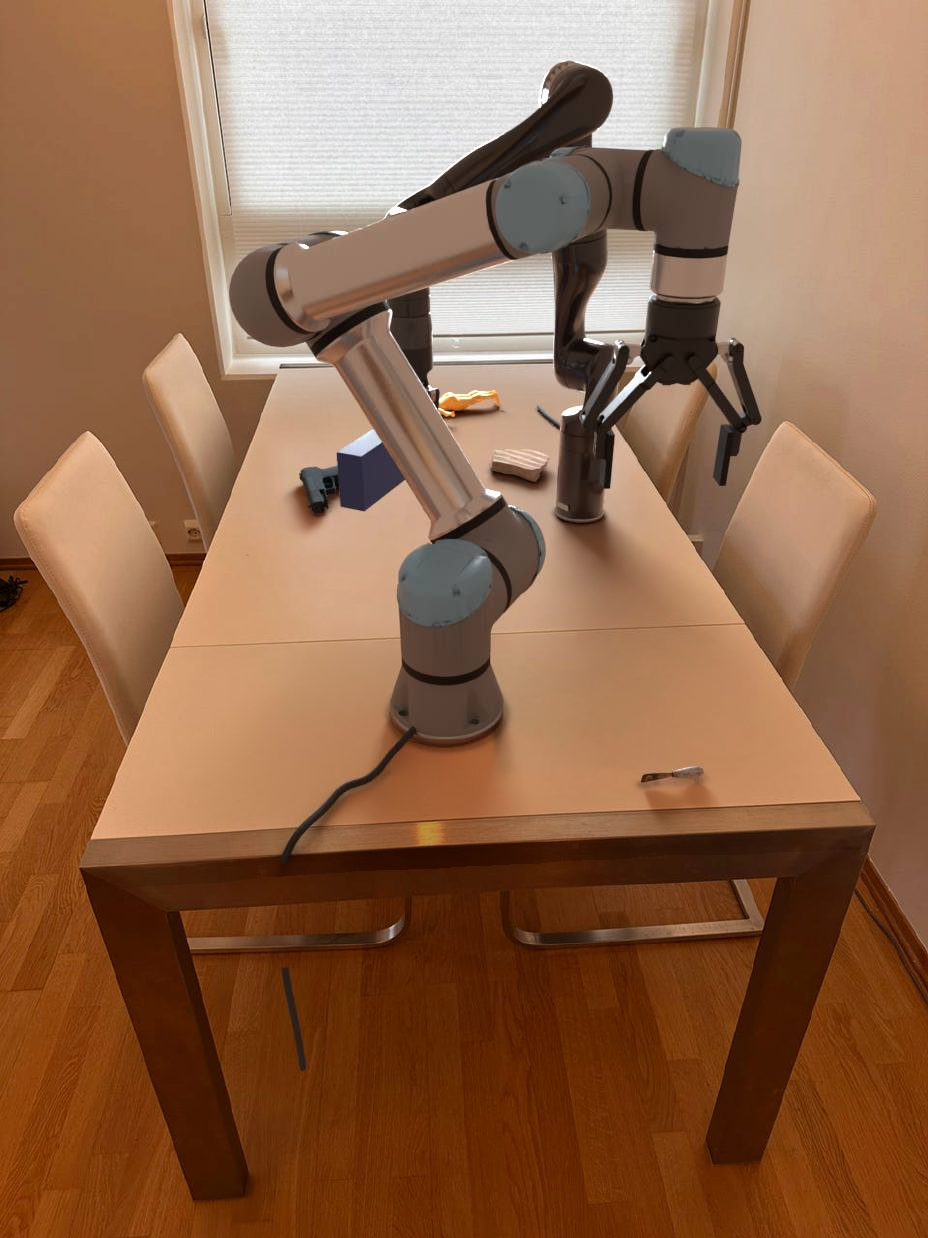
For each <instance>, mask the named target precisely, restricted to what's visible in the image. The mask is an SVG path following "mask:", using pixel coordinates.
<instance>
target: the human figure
mask: <svg viewBox="0 0 928 1238" xmlns="http://www.w3.org/2000/svg"><path fill="white" fill-rule="evenodd" d="M429 387H431V388H432V385H430V384H429ZM488 400H493V402H494V403H495V404H496V405H497V406H500V398H499V393H498V392H497V391H496V390H495V389H493V390H491V391H478V390H473V391H470V392H469V393H468V394H460V393H457V394H455V393H453V392H446V393H444V394H443V395H442V396H441V397H440V398H439V409H438V411H439V413H440V415H443V416H444V417H449V416H450V417H451V418H452V417H453V418H454V417H455V416H456V414H455V411H462V410H464V409H467V408H469V407H471V406H473V405H476V404H478V403H481V402H484V401H488ZM450 410H452V411H450Z"/></svg>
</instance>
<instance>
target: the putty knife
mask: <svg viewBox="0 0 928 1238" xmlns="http://www.w3.org/2000/svg"><path fill="white" fill-rule="evenodd" d="M704 772H705V771H704V768H702V767H701V766H697V765H695V766H688V767H683V768H679V769H675V770H673V771H671V772H653V773H652V772H651V773H650V772H649V773H644V774H642V776H641V779H640V783H642V784H645V783H648V782H653V781H659V780H665V779H668V778H673V779H674V778H675V779H693V778H694V779H695V778H700V777H702V776H703V775H704Z"/></svg>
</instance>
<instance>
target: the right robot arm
mask: <svg viewBox="0 0 928 1238" xmlns="http://www.w3.org/2000/svg"><path fill="white" fill-rule="evenodd" d="M538 103H539V104H538V106H539V107H538V108H537V109H536V110H535V111H534V112H533V113H531V114H530V115H529V116H528V117H526V118H525V119H524V120H523V121H522V122H519V124H517V125H516V126H514V127H513V128H511V129H510V130H508V131H506V132H504V133H502V134H501V135H499V136H497V137H495V138H493V139H491V140H489V141H487V142H485V143H483V144H481V145H479V146H477V147H476V148H474V149H473V150H471V151H470V152H468V153H466V154H465V155H463V156H462V157H460V158H459V159H458V160H457V161H455V163H453V164H451V166H450V167H448V168H447V169H445V170H444V171H443V172H441V174H439V175H438V176H437V177H436V178H435V179H433V181H431V182H430V183H429V184H428V185H426V186H424V187H422V188H421V189H419V190H417V191H416V192H414V193H412V194H411V195H409V196H407V197H406V198H404V199H403V200H402V201H400V202H399V203H397V204H396V205H395V206H394V207H392V208H391V209H390V210H388V212H387V213H386V214H385V216H384V218H383V220H385V219H387V218H390V217H393V216H395V215H398V214H401V213H404V212H406V211H409V210H412V209H414V208H417V207H420V206H422V205H425V204H428V203H431V202H433V201H436V200H439V199H441V198H444V197H447V196H449V195H452V194H455V193H458V192H460V191H463V190H466V189H468V188H471V187H474V186H476V185H479V184H482V183H485V182H487V181H490V180H493V179H498V178H500V177H502V176H504V175H506V174H509V173H512V172H514V171H515V170H517V169H518V168H520V167H521V166H523V165H525V164H528V163H530V162H533V161H537V160H540V159H544V158H549V159H550V156H551V154H552V153H553V152H554V151H555V150H556V149H559V148H563V147H581V146H584V145H585V146H592V147H593V133H595V132H596V131H598V130H600V128H601V127H602V126H603V125H604V124H605V123H606V121H607V119H609V116H610V115H611V111H612V108H613V104H614V91H613V85H612V83H611V81H610V80H609V78H608V76H607V75H606V74H605V73H604V72H602V71H601V70H600V69H598V68H597V67H594V66H591V65H589V64H585V63H582V62H579V61H574V60H562V61H560V62H557V63H556V64H554V65H553V66H552V67H551V68H550V69H549V70H548V72H547V73H546V74H545V75H544V78H543V80H542V83H541V85H540V90H539V97H538ZM608 248H609V247H608V229H603V230H601V231H598V232H596V233H594V234H591V235H589V236H586V237H584V238H580V239H578V240H576V241H574V242H571V243H570V244H569V245H568V246H566V247H564V248H561V249H558V250H556V251H553V252H550V254H551V265H552V275H553V276H552V277H553V303H554V322H553V323H554V324H553V346H552V347H553V349H552V350H553V352H552V353H553V354H552V363H553V364H552V365H553V367H552V368H553V373H554V378H555V380H556V382H557V384H558V385H559V386H560V387H563V388H564V389H566V390H570V391H574V392H578V393H581V394H584V396H583V401H582V405H577V406H573V407H570V408H567V409H566V410H563V411H562V413H561V415H560V418H559V419H560V421H558V420H557V419H555V418H554V417H552V416H551V415H550V414H549V413H548V412H547V411H546V410H545V409H544V408H543V407H542V406H541V405H540V404H537V405H536V408H537V410H538V411H539V413H541V414H542V415H543V416H544V417H545V418H547V420H549V421H550V422H552V423H553V424H554V425H556V426H557V427H559V438H558V439H559V441H558V459H557V477H556V479H557V480H556V495H555V507H554V514H555V515H556V517H557V518H559V519H560V520H563V521H565V522H569V523H573V524H574V523H575V524H588V523H595V522H597V521H599V520H600V519H602V518H603V516H604V511H605V509H604V504H605V494H606V489H604V488H603V486H602V484H601V482H600V469H601V460H597V459H596V457H595V455H594V452H593V448H594V435H595V431H594V430H592V429H585V428H584V427H583V425H582V423H581V421H580V418H579V416H580V414H581V412H582V410H583V409H584V407H585V405H586V403H587V402H588V400H589V398H590V396H591V395H592V393H593V391H594V389H595V388H596V386H597V384H598V382H599V381H600V379H601V377H602V375H603V374H604V372H605V370H606V368H607V367H608V365H609V363H610V361H611V359H612V354H613V349H614V344H611V343H608V342H604V341H601V340H600V341H599V340H595V339H590V338H587V335H586V329H585V328H586V327H585V326H586V311H587V307H588V304H589V301H590V299H591V297H592V296H593V294H594V292H595V290H596V289H597V287H598V286H599V284H600V282H601V280H602V278H603V276H604V274H605V271H606V269H607V265H608V254H609V253H608V252H609V251H608V250H609V249H608ZM386 303H387V304H388V306H389V308H390V309H391V311H392V318H391V323H390V332H391V334H392V335H393V337H394V338H395V340H396V342H397V343H398V345H399V347H400V348H401V350H402V352H403V353H404V355H405V357H406V358H407V360H408V362H409V363H410V365H411V367H412V368H413V370H414V372H415V373H416V375H417V377H418V378H419V380H420V382H421V383H422V385H423V387H424V388H425V390H426V392H427V393H428V395H429V397H430V398H431V400H432V402H433V403H434V405H435V407H436V408H437V410H438V409H439V399H440V395H441V391H440V389H439V388H438V387H436V388H432V386H431V387H430V383H429V379H428V374H429V373H430V372H432V370H433V368H434V343H433V342H434V339H433V337H434V336H433V333H434V332H433V322H432V316H431V314H432V313H431V290H430V287H427V288H424V289H421V290H418V291H414V292H411V293H408V294H405V295H402V296H398V297H395V298H392V299H389V300H386ZM619 383H620V381H619V382H618V384H617V386H616V387H615V389H614V391H613V392H612V394H611V396H610V398H609V399H608V401H607V403H606V404H605V406H604V408H603V410H602V411H601V413H602V412H603V411H604V410H605V409H606V407H607V406H608V405H609V404H610V403H611V402H612V401H613V400H614V399H615V398H616V397H617V396H618V391H619V385H620V384H619ZM601 413H600V414H601Z"/></svg>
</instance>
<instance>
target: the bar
mask: <svg viewBox="0 0 928 1238" xmlns="http://www.w3.org/2000/svg"><path fill="white" fill-rule="evenodd" d="M336 466H338V479H339V487H338V491H339V503H340V504H339V506H340V508H344V509H350V510H355V511H359V512H366V511H368V510H369V509H370V508H371V507H372V506H374V505H375V504H377V502H379V501H380V500H381V499H383V498H384V497H386V495H388V494H390V493H391V491H394V489H395V488H397V487H398V486H399V485H401V484H402V483H403V482H405V481H406V480H405V479H404V477H403V475H402V474H401V472H400V471H399V469H398V467H397V466H396V464H395V462H394V461H393V459H392V458H391V456H390V454H389V453H388V451H387V450H386V448H385V446H384V445H383V443H382V442H381V440H380V438H379V437H378V435H377V434H376V432H375V430H374V429H373V428H372V429H370V430H369V431H367V432H366V433H364V434H363V435H361V436H360V437H358V438H357V439H355V440H353V441H352V442H350V443H349V444H346V446H344V447H342V448H341V449H340V450H337V452H336Z"/></svg>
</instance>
